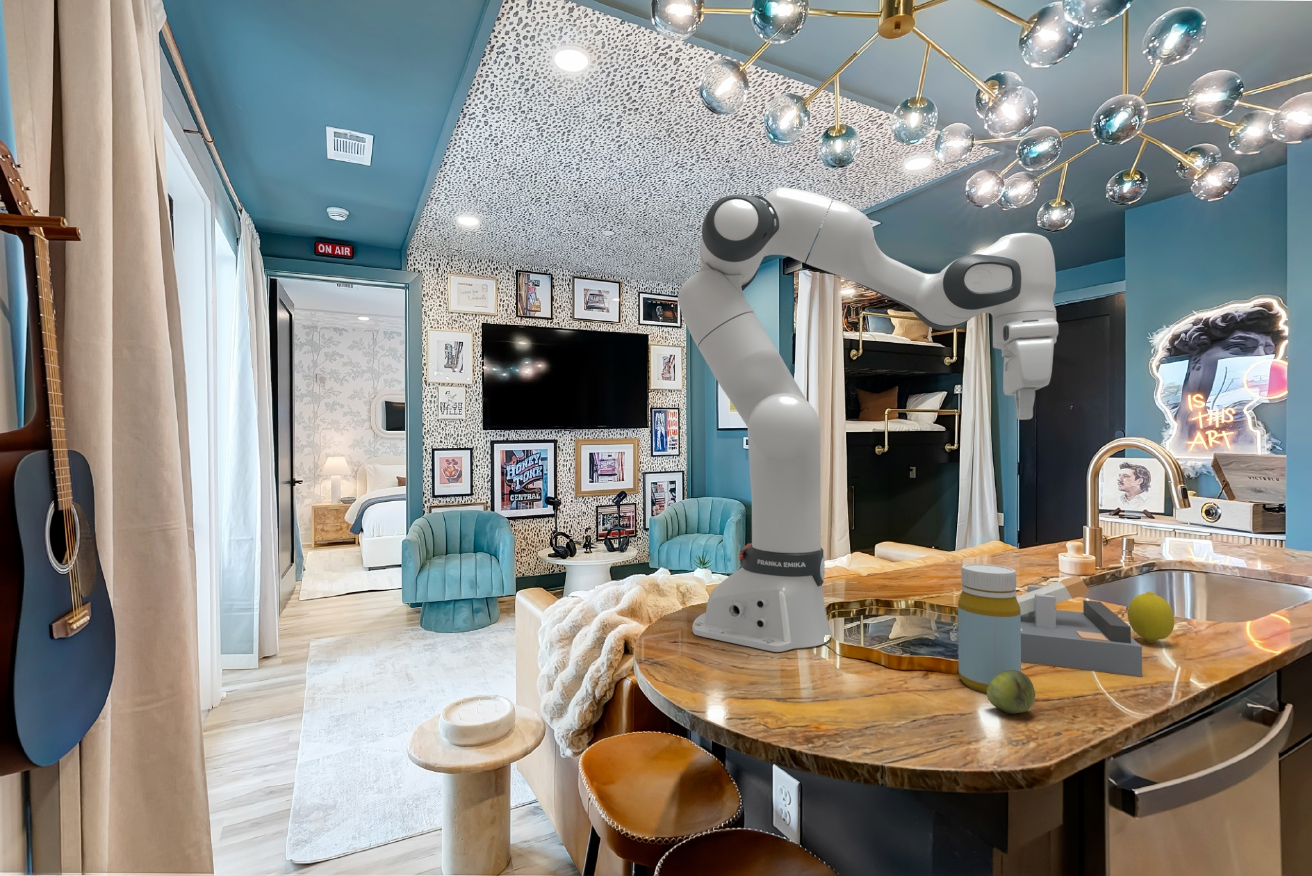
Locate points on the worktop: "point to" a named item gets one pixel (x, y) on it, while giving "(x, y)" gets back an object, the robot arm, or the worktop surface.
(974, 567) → the bottle
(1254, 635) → the worktop surface
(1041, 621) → the low grey base tray
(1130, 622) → the lemon
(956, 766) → the worktop surface
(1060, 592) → the lever
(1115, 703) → the worktop surface
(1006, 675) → the lime
